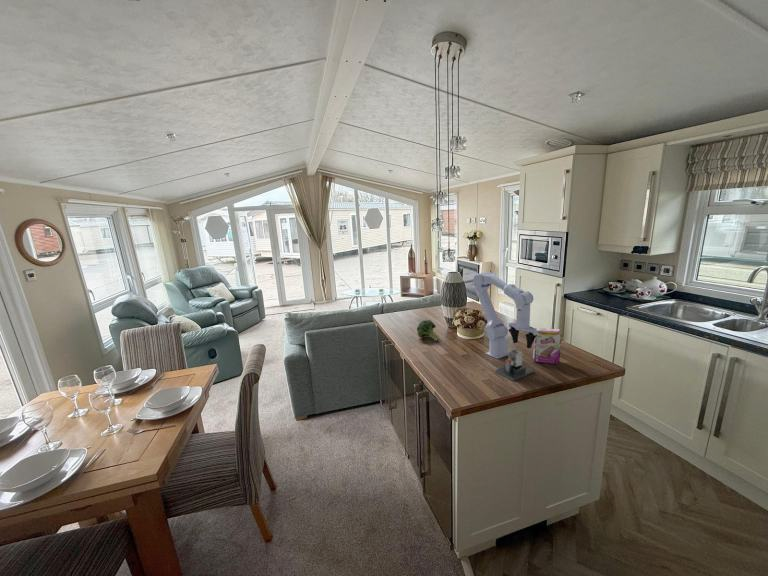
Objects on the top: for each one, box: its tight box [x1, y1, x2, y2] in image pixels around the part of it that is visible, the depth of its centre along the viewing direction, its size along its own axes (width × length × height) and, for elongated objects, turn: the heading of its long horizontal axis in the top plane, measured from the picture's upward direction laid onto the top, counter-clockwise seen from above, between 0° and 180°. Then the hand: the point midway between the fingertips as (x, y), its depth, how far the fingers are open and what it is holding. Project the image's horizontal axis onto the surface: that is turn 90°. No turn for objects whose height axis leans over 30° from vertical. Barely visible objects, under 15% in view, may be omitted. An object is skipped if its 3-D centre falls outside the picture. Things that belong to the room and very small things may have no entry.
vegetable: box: [416, 319, 440, 342], centre depth 190 cm, size 12×13×15 cm
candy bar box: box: [532, 327, 562, 365], centre depth 151 cm, size 11×5×16 cm, turn 71°
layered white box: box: [507, 349, 523, 367], centre depth 142 cm, size 5×4×6 cm
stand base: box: [495, 358, 535, 382], centre depth 143 cm, size 14×10×7 cm
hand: (522, 345), depth 148 cm, fingers open, 7 cm apart
